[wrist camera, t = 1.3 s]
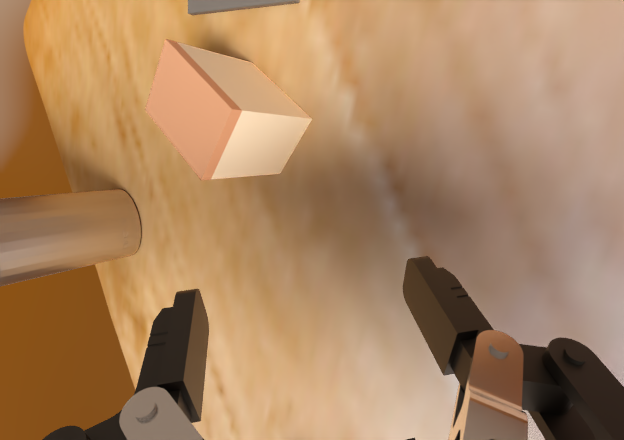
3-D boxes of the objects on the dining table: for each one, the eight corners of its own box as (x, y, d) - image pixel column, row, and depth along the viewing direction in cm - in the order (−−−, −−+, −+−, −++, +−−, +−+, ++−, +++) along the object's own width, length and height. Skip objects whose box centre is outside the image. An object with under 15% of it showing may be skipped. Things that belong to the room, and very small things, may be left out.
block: (312, 119, 27) (232, 109, 21) (280, 173, 30) (201, 180, 23) (252, 62, 30) (165, 38, 23) (228, 117, 32) (144, 109, 26)
